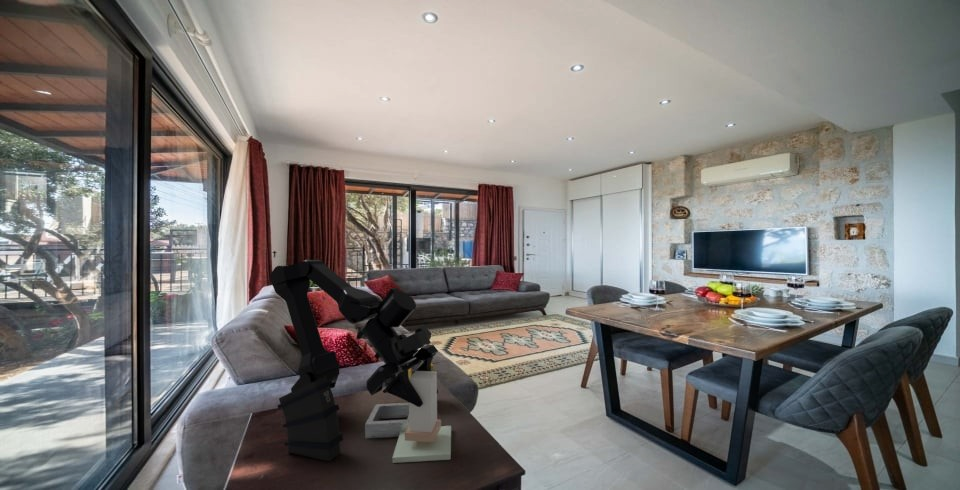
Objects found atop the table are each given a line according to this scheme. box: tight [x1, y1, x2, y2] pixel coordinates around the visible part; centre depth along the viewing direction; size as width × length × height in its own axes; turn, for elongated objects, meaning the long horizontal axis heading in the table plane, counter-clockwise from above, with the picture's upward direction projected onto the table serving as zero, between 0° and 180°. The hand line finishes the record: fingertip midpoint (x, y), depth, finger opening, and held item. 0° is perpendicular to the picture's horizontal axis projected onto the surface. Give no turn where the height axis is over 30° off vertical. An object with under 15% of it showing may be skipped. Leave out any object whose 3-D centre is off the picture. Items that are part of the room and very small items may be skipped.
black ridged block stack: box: [277, 376, 344, 462], centre depth 68 cm, size 4×13×15 cm, turn 71°
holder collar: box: [364, 402, 409, 439], centre depth 79 cm, size 10×10×3 cm
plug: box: [405, 370, 442, 442], centre depth 70 cm, size 6×6×12 cm
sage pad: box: [392, 425, 452, 464], centre depth 70 cm, size 11×11×1 cm
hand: (429, 399), depth 70 cm, fingers closed on plug, 6 cm apart
